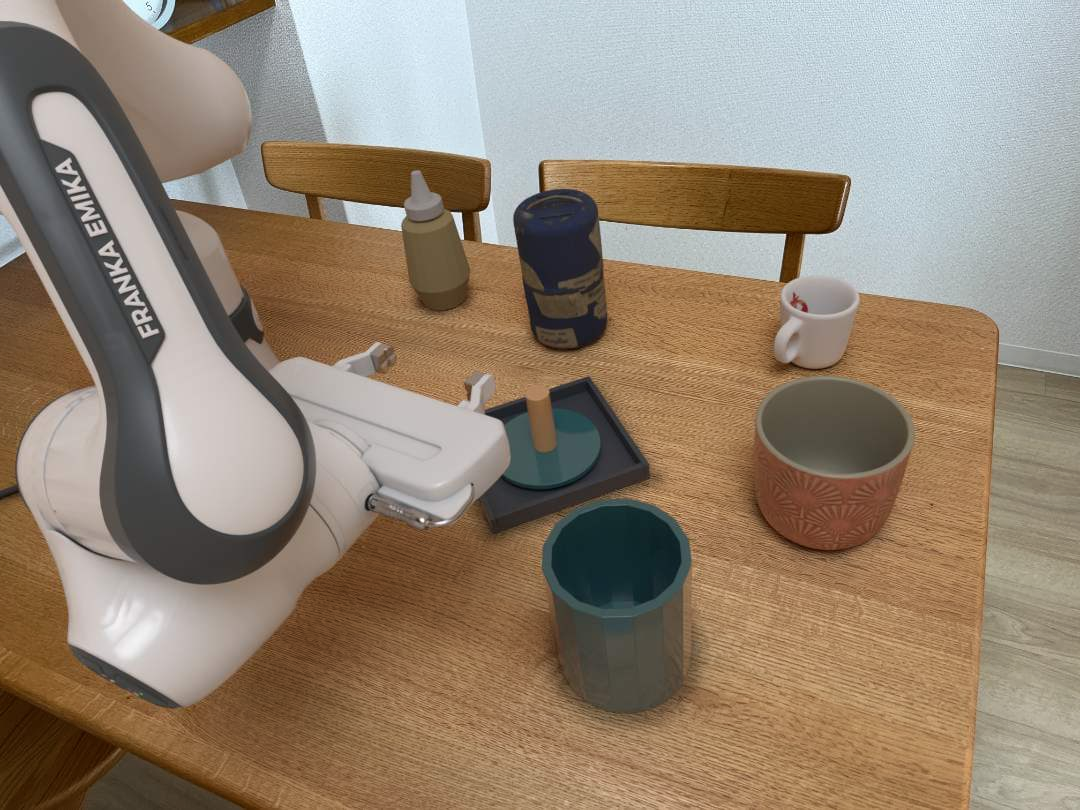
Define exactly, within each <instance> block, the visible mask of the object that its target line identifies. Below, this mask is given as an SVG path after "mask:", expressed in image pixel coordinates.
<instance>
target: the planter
mask: <svg viewBox="0 0 1080 810" xmlns="http://www.w3.org/2000/svg"><path fill="white" fill-rule="evenodd" d="M915 438H916V430H915V425H914V422H913V419H912V417H911V415H910V413H909V412H908V411H907V409H906V408H905V407H904V406H903V404H902V403H901V402H900V401H898V399H896V398H895V397H894V396H892V395H891V394H890V393H888V392H886V391H885V390H883V389H881V388H880V387H878V386H875V385H873V384H871V383H867V382H865V381H863V380H859V379H854V378H850V377H844V376H840V375H839V376H838V375H814V376H813V375H811V376H805V377H799V378H796V379H792V380H790V381H787V382H785V383H782V384H780V385H779V386H777V387H775V388H774V389H772V390H771V391H770V392H769V393H767V394H766V395H765V396H764V398H763V399H762V400H761V401H760V403H759V404H758V407H757V409H756V412H755V417H754V447H753V448H754V452H753V479H754V489H755V497H756V501H757V504H758V508H759V509H760V512H761V514H762V516H763V517H764V518H765V520H766V521H767V523H768V524H769V525H770V526H771V527H772V529H774V530H775V531H776V532H777V533H778V534H780V535H781V536H782V537H784V538H786V539H787V540H789V541H791V542H793V543H796V544H798V545H800V546H803V547H806V548H810V549H814V550H822V551H837V550H845V549H849V548H853V547H856V546H859V545H861V544H863V543H865V542H866V541H868V540H870V539H872V537H874V536H875V535H877V533H878V532H879V531H880V530H881V529H882V527H883V526H884V525H885V523H886V522H887V520H888V518H889V516H890V515H891V513H892V510H893V509H894V506H895V503H896V501H897V498H898V495H899V493H900V489H901V486H902V483H903V480H904V477H905V473H906V470H907V467H908V464H909V460H910V457H911V454H912V450H913V446H914V444H915Z"/></svg>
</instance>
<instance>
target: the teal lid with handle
mask: <svg viewBox="0 0 1080 810" xmlns="http://www.w3.org/2000/svg"><path fill="white" fill-rule="evenodd" d="M549 389H550V388H549V387H548V386H546V385H544V384H538V383H537V384H533V385H530V386H528V387H527V388H526V389H525V391H524V397H525V400H526V405H527V411H528V412H527V413H524V414H521V415H519V416H517V417H515V418H514V419H512V420H510V421H509V422H508V423H506V424H505V425H504V427H505V430H506V434H507V437H508V441H509V446H510V454H511V460H510V464H509V466H508V468H507V469H506V471H505V472H504V473H503V474H502V475H501V476H502V477H503V478H504V479H506V480H507V481H509V482H510V483H513V484H515V485H517V486H520V487H524V488H529V489H551V488H556V487H560V486H564V485H567V484H569V483H572V482H574V481H576V480H578V479H579V478H581V477H582V476H584V475H585V474H586V473H587V472H588V471H590V469H591V468H592V467H593V466H594V465H595V463H596V462H597V460H598V457H599V455H600V451H601V440H600V435H599V432H598V430H597V428H596V427H595V425H594V424H593V423H592V422H591V421H590V420H589V419H587V418H586V417H584V416H583V415H581V414H579V413H576V412H573V411H570V410H565V409H557V408H552V405H551V398H550V391H549Z"/></svg>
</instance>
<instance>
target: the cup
mask: <svg viewBox="0 0 1080 810" xmlns="http://www.w3.org/2000/svg"><path fill="white" fill-rule="evenodd" d="M860 302H861V298H860V294H859V291H858V290H857V288H855V286H854V285H852V284H851V283H849V282H848V281H846V280H845V279H842V278H839V277H835V276H831V275H826V274H825V275H824V274H811V275H803V276H800V277H797V278H795V279H792V280H791V281H789V282H787V283H786V284H785V285H784V286H783V287H782V289H781V290H780V294H779V311H780V313H779V314H780V328H779V329H778V331H777V333H776V335H775V338H774V340H773V356H774V358H775V360H776V361H777V362H779V363H782V364H789V363H793V365H796V366H799V367H801V368H805V369H811V370H813V369H815V370H817V369H824V368H829V367H831V366H834V365H835V364H837V363H838V362H839V361H840V360H841V359H842V357H843V356H844V354H845V352H846V350H847V346H848V344H849V339H850V337H851V333H852V329H853V327H854V323H855V319H856V318H857V317H856V316H857V313H858V310H859V307H860V306H859V305H860Z"/></svg>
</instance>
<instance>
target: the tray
mask: <svg viewBox="0 0 1080 810" xmlns="http://www.w3.org/2000/svg"><path fill="white" fill-rule="evenodd" d="M548 389H549V391H550V398H551V405H552V408H557V409H565V410H570V411H573V412H576V413H579V414H581V415H583V416H584V417H586V418H587V419H589V420H590V421H591V422H592V423H593V424H594V425H595V427H596V428H597V430H598V432H599V435H600V440H601V451H600V455H599V457H598V460H597V462H596V463H595V465H594V466H593V467H592V468H591V469H590V471H588V472H587V473H586V474H585V475H584V476H582V477H581V478H579V479H578V480H576V481H574V482H572V483H569V484H567V485H564V486H560V487H556V488H551V489H529V488H524V487H520V486H517V485H515V484H513V483H510V482H509V481H507V480H506V479H504V478H503V477H502V476H500V477H499V479H498V480H497V481H496V482H495V483H494V484H493V485H492V486H491V487H490V488H489V489H488V490H487V491H486V492H485V493H484V494H483V495H482V496H481V497H480V498H478V501H479V503H480V505H481V507H482V510H483V513H484V515H485V517H486V520H487V523H488V524H489V527H490V529H491V531H492V533H493V534H497V533H499V532H502V531H506V530H508V529H511V528H514V527H517V526H520V525H522V524H525V523H528V522H531V521H533V520H537V519H539V518H543V517H545V516H547V515H550V514H553V513H557V512H559V511H563V510H564V509H568V508H570V507H571V508H572V507H573V506H576V505H579V504H581V503H584V502H585V503H586V502H587V501H590V500H593V499H595V498H598V497H602V496H604V495H607V494H610V493H613V492H616V491H618V490H622V489H624V488H627V487H630V486H632V485H635V484H638V483H640V482H644V481H646V480H650V479H651V474H650V471H651V470H650V463H649V462H648V460H647V459H646V457H645V456H644V455H643V453H642V451H641V450H640V448H639V447H638V446H637V444H636V442H635V441H634V439H633V438H632V437H631V435H630V434H629V432H628V431H627V429H626V428H625V426H624V424H623V423H622V422H621V420H620V418H619V417H618V415H617V414H616V413H615V412H614V410H613V408H612V407H611V406H610V404H609V403H608V401H607V400H606V398H605V397H604V395H603V394H602V392H601V391H600V389H599V388H598V386H597V384H595V382H594V381H593V379H592V377H591V376H590V375H588V376H585V377H582V378H578V379H576V380H572V381H569V382H566V383H563V384H560V385H557V386H554V387H550V388H548ZM527 412H528V411H527V405H526V400H525V396H523V397H520V398H517V399H513V400H511V401H508V402H505V403H502V404H498V405H495V406H492V407H489V408H485V415H487V416H490V417H493V418H496V419H499V420H500V421H502V423H503V424H504V425H505V424H506V423H508V422H509V421H510V420H512V419H514V418H515V417H517V416H519V415H521V414H524V413H527ZM493 534H492V535H493Z"/></svg>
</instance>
